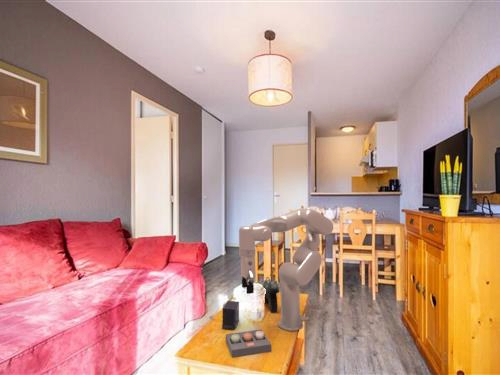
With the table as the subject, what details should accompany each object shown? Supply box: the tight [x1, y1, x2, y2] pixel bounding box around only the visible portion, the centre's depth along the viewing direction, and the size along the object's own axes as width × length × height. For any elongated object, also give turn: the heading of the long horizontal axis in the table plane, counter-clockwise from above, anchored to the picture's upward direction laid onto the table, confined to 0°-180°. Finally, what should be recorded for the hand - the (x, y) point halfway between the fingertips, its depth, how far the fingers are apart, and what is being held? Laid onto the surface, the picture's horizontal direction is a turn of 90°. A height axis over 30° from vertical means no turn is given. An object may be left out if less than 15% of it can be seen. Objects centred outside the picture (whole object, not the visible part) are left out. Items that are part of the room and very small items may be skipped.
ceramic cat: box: [262, 273, 280, 314], centre depth 167 cm, size 20×6×20 cm, turn 13°
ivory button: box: [256, 330, 265, 340], centre depth 125 cm, size 4×4×2 cm
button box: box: [225, 329, 272, 358], centre depth 123 cm, size 17×14×3 cm
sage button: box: [231, 334, 240, 344], centre depth 122 cm, size 4×4×2 cm
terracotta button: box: [244, 332, 252, 342], centre depth 123 cm, size 4×4×2 cm
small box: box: [221, 300, 240, 331], centre depth 144 cm, size 11×6×10 cm, turn 168°
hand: (247, 290), depth 131 cm, fingers open, 8 cm apart
